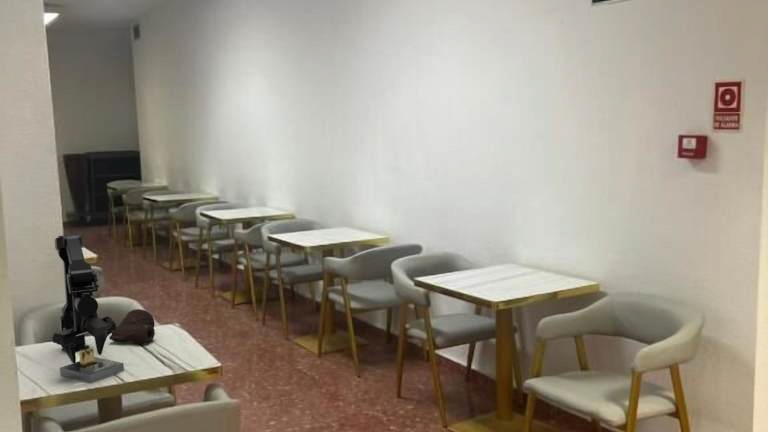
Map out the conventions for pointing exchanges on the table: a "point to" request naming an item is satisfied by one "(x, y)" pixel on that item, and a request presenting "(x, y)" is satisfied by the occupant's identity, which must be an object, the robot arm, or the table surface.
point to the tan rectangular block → (86, 357)
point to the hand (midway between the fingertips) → (87, 358)
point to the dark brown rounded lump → (135, 328)
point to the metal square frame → (92, 370)
